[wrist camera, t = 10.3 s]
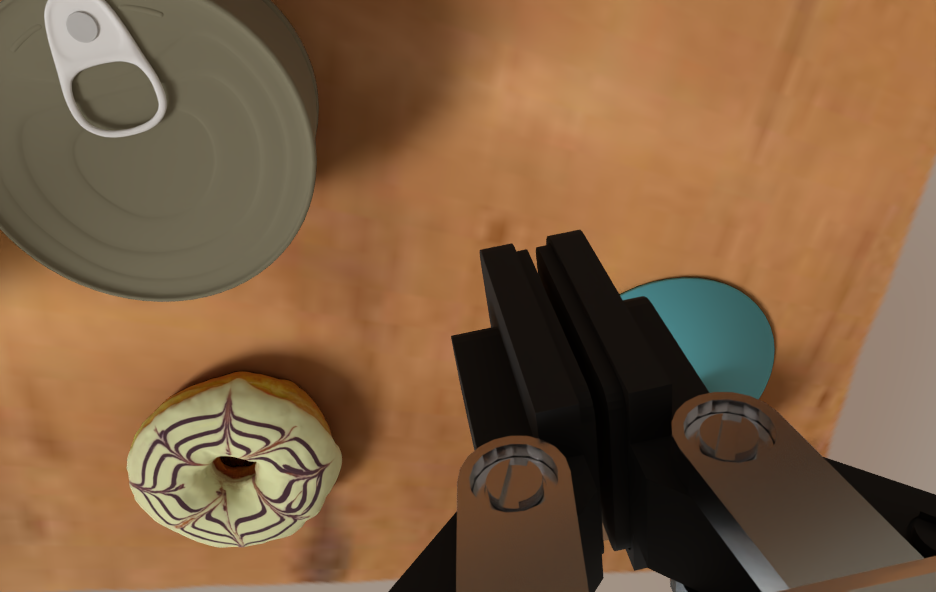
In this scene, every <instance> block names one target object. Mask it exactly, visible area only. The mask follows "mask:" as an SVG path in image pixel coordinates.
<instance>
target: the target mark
mask: <svg viewBox="0 0 936 592" xmlns="http://www.w3.org/2000/svg"><path fill="white" fill-rule="evenodd" d="M620 296H621V298H622V300H626V299H631V298H636V297H641V296H645V297H647V298H648V299H649V300H650V302H651V303H652V304H653V306H654V307H655V309H656V311H657V312H658V314H659V315H660V317H661V318H662V320H663V321H664V323H665V324H666V326H667V328H668V329H669V331H670V332H671V334H672V335H673V337H674V338H675V340H676V342H677V343H678V345H679V346H680V348H681V349H682V351H683V352H684V354H685V355H686V357H687V359H688V360H689V362H690V363H691V365H692V366H693V368H694V369H695V371H696V373H697V374H698V376H699V377H700V379H701V380H702V382H703V383H704V385H705V386H706V388H707V390H708V391H709V393H712V392H734V393H739V394H744V395H748V396H751V397H754V398H756V399H759V398H760V396H761V395H762V393H763V391H764V389H765V387H766V385H767V383H768V380H769V377H770V375H771V371H772V367H773V362H774V350H775V348H774V338H773V334H772V331H771V327H770V325H769V323H768V321H767V319H766V316H765V315H764V314H763V312H762V311H761V310H760V308H759V307H758V306H757V305H756V304H755V303H754V302H753V301H752V300H751V299H750V298H749V297H748V296H747V295H745V294H744V293H742V292H741V291H739V290H738V289H735V288H733V287H731V286H729V285H727V284H724V283H721V282H717V281H714V280H709V279H703V278H686V277H682V278H671V279H664V280H659V281H655V282H650V283H647V284H644V285H641V286H638V287H635V288H633V289H631V290H628V291H626V292H624V293H622V294H620Z"/></svg>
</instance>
